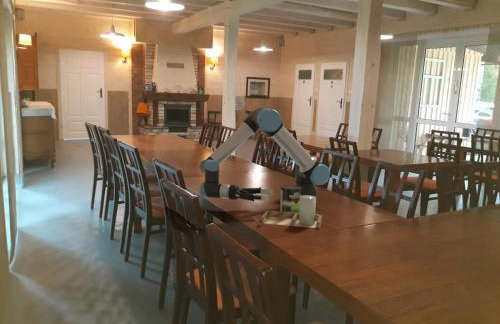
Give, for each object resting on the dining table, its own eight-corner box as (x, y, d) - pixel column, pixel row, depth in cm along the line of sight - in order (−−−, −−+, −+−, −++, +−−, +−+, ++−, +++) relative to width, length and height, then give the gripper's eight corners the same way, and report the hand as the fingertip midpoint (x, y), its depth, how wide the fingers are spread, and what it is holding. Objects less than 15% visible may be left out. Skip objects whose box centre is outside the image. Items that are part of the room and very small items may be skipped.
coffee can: (304, 216, 194) (305, 188, 192) (286, 218, 189) (287, 189, 187) (293, 211, 203) (293, 184, 201) (275, 213, 198) (276, 185, 196)
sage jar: (311, 220, 182) (312, 195, 180) (317, 225, 175) (318, 198, 173) (296, 221, 180) (297, 195, 178) (302, 226, 174) (303, 199, 172)
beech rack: (260, 225, 177) (261, 217, 176) (266, 217, 190) (266, 210, 189) (319, 230, 171) (320, 222, 170) (321, 222, 183) (322, 214, 183)
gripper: (236, 194, 214) (274, 197, 209) (222, 204, 190) (265, 208, 185) (236, 180, 213) (275, 183, 208) (222, 189, 189) (266, 192, 184)
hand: (270, 195), depth 197 cm, fingers open, 13 cm apart
